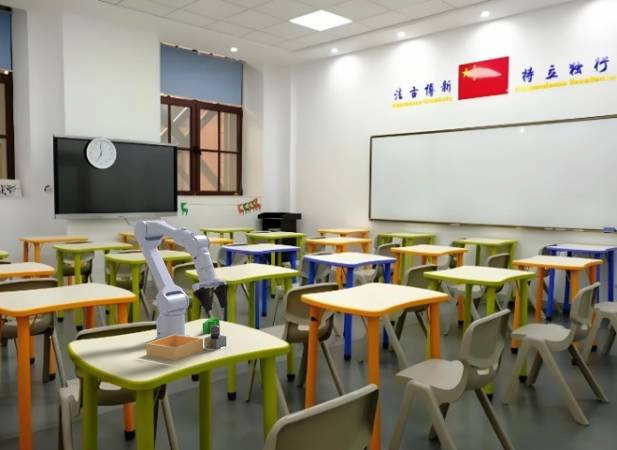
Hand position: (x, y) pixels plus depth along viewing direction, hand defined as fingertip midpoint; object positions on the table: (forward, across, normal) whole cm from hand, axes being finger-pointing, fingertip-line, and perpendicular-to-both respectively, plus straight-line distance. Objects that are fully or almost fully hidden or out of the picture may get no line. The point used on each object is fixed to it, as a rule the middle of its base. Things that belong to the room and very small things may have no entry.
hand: (217, 309), depth 164 cm
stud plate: (+12, 0, +5) cm, 13 cm away
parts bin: (+9, -11, +12) cm, 19 cm away
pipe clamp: (+5, +16, +20) cm, 26 cm away
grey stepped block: (+11, 0, +5) cm, 12 cm away
